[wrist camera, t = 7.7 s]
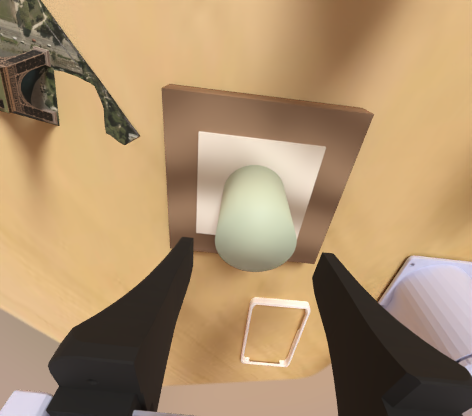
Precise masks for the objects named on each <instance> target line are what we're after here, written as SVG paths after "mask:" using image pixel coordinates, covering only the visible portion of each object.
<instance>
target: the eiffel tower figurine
mask: <svg viewBox="0 0 472 416" xmlns="http://www.w3.org/2000/svg"><path fill="white" fill-rule="evenodd" d="M54 70H57V71H64V72H66V73H69V74H72V75H75V76H77V77H79V78H81V79H83V80H85V81H87V82H89V83H91V84H92V85H94V86H95V88H96V90H97V93H98V95H99V97H100V99H101V102H102V105H103V108H104V121H105V129H106V133H107V134H109V135H111V136H112V137H113V138H115V139H116V140H117V141H118V142H120V143H122V144H123V145H126V144H128V143H129V142H131V141H132V140H134V139H135V138H137V137H139V136H140V135H139V134H138V133H137V131H136V130H135V129H134V127H133V126H132V125H131V123H130V122H129V121H128V119H127V118H126V117H125V115H124V114H123V112H122V111H121V109H120V108H119V107H118V105H117V104H116V102H115V101H114V99H113V98H112V97H111V95H110V94H109V93H108V91H107V90H106V88H105V87H104V86H103V84H102V83H101V81H100V80H99V79H98V77H97V76H96V75H95V73H94V72H93V71H92V70H91V68H90V67H89V66H88V64H87V63H86V62H85V60H84V59H83V58H82V56H81V55H80V54H79V52H78V51H77V49H76V48H75V47H74V45H73V44H72V43H71V41H70V40H69V39H68V37H67V36H66V35H65V33H64V32H63V30H62V29H61V28H60V26H59V25H58V24H57V22H56V21H55V19H54V18H53V17H52V15H51V14H50V13H49V11H48V10H47V8H46V7H45V6H44V4H43V3H42V1H41V0H0V111H3V112H7V113H11V112H12V113H15V114H19V115H22V116H26V117H29V118H33V119H36V120H40V121H44V122H47V123H51V124H54V125H58V126H59V116H58V106H57V97H56V87H55V78H54Z"/></svg>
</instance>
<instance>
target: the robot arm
mask: <svg viewBox="0 0 472 416" xmlns="http://www.w3.org/2000/svg"><path fill="white" fill-rule="evenodd" d="M193 245H194V238H190V237H181V238H180V240H179V241H178V242H177V244H176V245H175V246H174V248H173V249H172V250H171V251H170V253H169V254H168V255H167V256H166V257H165V258H164V260H163V261H162V262H161V263H160V264H159V265H158V266H157V267H156V268H155V269H154V270H153V271H152V272H151V273H150V274H149V275H148V276H147V277H146V278H145V279H144V280H143V281H141V282H140V283H139V284H138V285H137V286H136V287H134V288H133V289H132V290H131V291H129V292H128V293H127V294H126V295H124V296H123V297H122V298H120V299H119V300H118V301H116V302H115V303H113V304H112V305H110V306H109V307H107V308H106V309H104V310H103V311H101V312H100V313H98V314H96V315H95V316H93V317H91V318H89V319H88V320H86V321H84V322H83V323H81V324H79V325H77V326H75V327H73V328H72V330H71V331H70V332H69V333H68V335H67V336H66V337H65V338H64V340H63V341H62V343H61V344H60V346H59V347H58V349H57V351H56V352H55V354H54V355H53V357H52V358H51V360H50V362H49V364H48V367H49V370H50V373H51V374H52V376H53V377H54V379H55V380H56V382H57V383H58V385H59V388H58V389H57V391H56V393H55V395H54V396H53V395H51V394H49V393H45V392H37V391H27V390H16V391H14V392H13V393H12V395H11V396H10V398H9V399H8V400H7V402H6V404H5V405H4V406H3V408H2V409H1V411H0V416H191V415H182V414H171V413H160V412H157V408H158V403H159V398H160V393H161V388H162V383H163V379H164V374H165V369H166V364H167V360H168V355H169V351H170V346H171V342H172V338H173V333H174V329H175V325H176V321H177V318H178V315H179V312H180V309H181V306H182V303H183V300H184V297H185V294H186V291H187V288H188V285H189V282H190V277H191V272H192V268H193ZM312 280H313V287H314V294H315V298H316V301H317V305H318V309H319V312H320V316H321V319H322V323H323V326H324V330H325V333H326V337H327V341H328V347H329V352H330V358H331V364H332V369H333V376H334V383H335V391H336V398H337V406H338V416H472V262H468V261H459V260H450V259H441V258H432V257H423V256H410V257H409V258H408V259H407V260H406V262H405V263H404V265H403V266H402V268H401V269H400V271H399V272H398V273H397V275H396V276H395V278H394V279H393V281H392V282H391V284H390V285H389V287H388V288H387V290H386V291H385V293H384V294H383V295H382V297H381V298H380V300H379V301H378V302H377V301H376V300H375V299H374V298H373V297H372V296H371V295H370V294H369V293H368V292H367V291H366V290H365V289H364V288H363V287H362V286H361V285H360V284H359V283H358V281H357V280H356V279H355V278H354V277H353V276H352V275H351V274H350V272H349V271H348V270H347V269H346V268H345V267H344V265H343V264H342V263H341V262H340V261H339V260H338V258H337V257H336V256H335V255H334V254H332V253H323V252H322V255H321V257H320V259H319V262H318V264H317V267H316V269H315V272H314V274H313V277H312Z"/></svg>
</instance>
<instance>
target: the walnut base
mask: <svg viewBox="0 0 472 416" xmlns="http://www.w3.org/2000/svg"><path fill="white" fill-rule="evenodd" d="M162 102H163V121H164V140H165V159H166V177H167V196H168V215H169V234H170V248H174V246H175V245H176V244H177V242H178V241H179V240H180V238H181V237H190V238H194V245H193V251H201V252H210V253H218V252H217V250H216V246H215V235H216V230H217V224H218V218H219V213H220V207H221V202H222V196H223V190H224V186H225V183H226V181H227V179H228V177H229V176H230V175H231V174H232V173H233V172H235V171H236V170H238V169H239V168H242V167H245V166H249V165H260V166H264V167H267V168H269V169H271V170H273V171H274V172H275V173H276V174H277V175H278V176H279V177H280V178H281V180H282V182H283V185H284V189H285V193H286V197H287V201H288V205H289V209H290V213H291V217H292V221H293V225H294V229H295V233H296V238H297V243H296V248H295V251H294V253H293V254H292V256H291V257H290V258H289V259H288V260H287V261H292V262H301V263H310V264H314V263H315V261H316V258H317V256H318V253H319V251H320V248H321V246H322V243H323V241H324V238H325V236H326V233H327V231H328V228H329V226H330V223H331V221H332V218H333V216H334V213H335V211H336V208H337V206H338V203H339V201H340V198H341V196H342V193H343V191H344V188H345V186H346V183H347V181H348V178H349V176H350V173H351V171H352V168H353V166H354V163H355V161H356V158H357V156H358V153H359V151H360V148H361V145H362V143H363V140H364V138H365V135H366V133H367V130H368V128H369V125H370V123H371V120H372V118H373V115H374V114H372V113H370V112H369V111H367V110H365V109H363V108H357V107H349V106H341V105H333V104H325V103H317V102H309V101H301V100H293V99H285V98H277V97H269V96H261V95H253V94H245V93H237V92H229V91H221V90H213V89H205V88H197V87H189V86H181V85H173V84H169V85H167V86H165V87H163V88H162Z"/></svg>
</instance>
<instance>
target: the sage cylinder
mask: <svg viewBox="0 0 472 416" xmlns="http://www.w3.org/2000/svg"><path fill="white" fill-rule="evenodd" d="M296 243H297V238H296V233H295V229H294V225H293V221H292V217H291V213H290V209H289V205H288V201H287V197H286V193H285V189H284V185H283V182H282V180H281V178H280V177H279V176H278V175H277V174H276V173H275V172H274V171H273V170H271V169H269V168H267V167H264V166H260V165H249V166H245V167H242V168H239V169H238V170H236V171H235V172H233V173H232V174H231V175H230V176H229V177H228V179H227V181H226V183H225V186H224V190H223V196H222V202H221V207H220V213H219V218H218V224H217V230H216V235H215V246H216V250H217V252H218V254H219V255H220V257H221V258H222V259H223V260H224V261H225V262H226V263H228V264H229V265H231V266H233V267H235V268H237V269H240V270H244V271H250V272H262V271H267V270H271V269H274V268H276V267H278V266H280V265H282V264H284V263H285V262H286V261H287V260H288V259H289V258H290V257H291V256H292V254H293V253H294V251H295V248H296Z"/></svg>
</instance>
